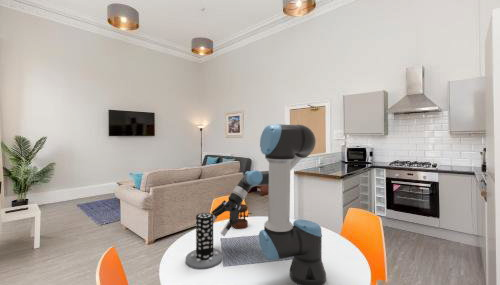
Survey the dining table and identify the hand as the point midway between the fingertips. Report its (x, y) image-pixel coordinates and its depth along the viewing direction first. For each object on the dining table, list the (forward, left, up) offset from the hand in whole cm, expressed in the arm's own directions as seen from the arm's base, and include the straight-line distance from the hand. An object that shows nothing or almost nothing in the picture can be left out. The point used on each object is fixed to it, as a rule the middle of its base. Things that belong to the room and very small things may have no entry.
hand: (214, 230), depth 121 cm
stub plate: (0, +6, -12) cm, 14 cm away
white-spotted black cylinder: (0, +6, -11) cm, 13 cm away
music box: (+23, -35, -13) cm, 43 cm away
